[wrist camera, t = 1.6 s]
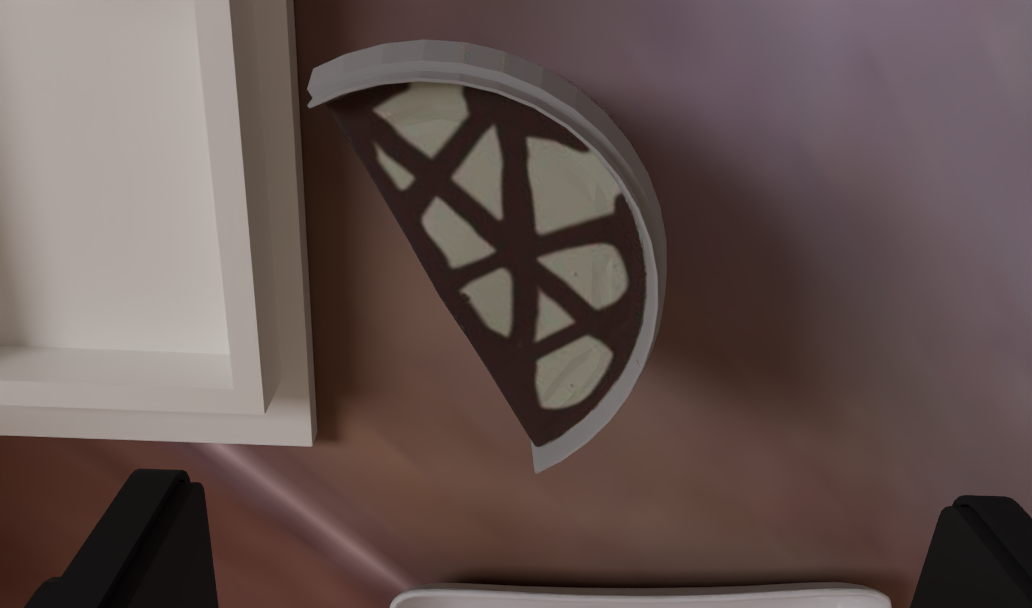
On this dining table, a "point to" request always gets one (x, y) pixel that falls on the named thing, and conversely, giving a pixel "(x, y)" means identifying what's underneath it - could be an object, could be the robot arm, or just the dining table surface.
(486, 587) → the salad plate
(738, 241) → the dining table surface
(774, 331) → the dining table surface
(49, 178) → the white dish rack
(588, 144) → the food container
